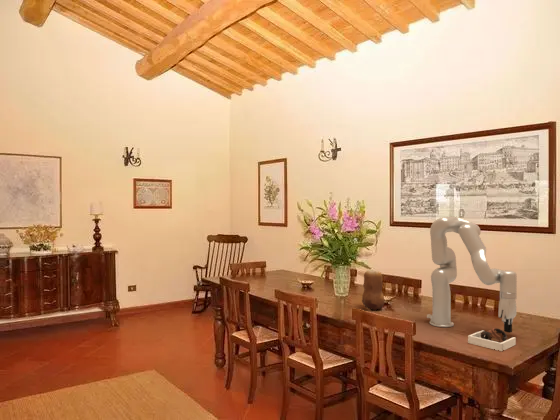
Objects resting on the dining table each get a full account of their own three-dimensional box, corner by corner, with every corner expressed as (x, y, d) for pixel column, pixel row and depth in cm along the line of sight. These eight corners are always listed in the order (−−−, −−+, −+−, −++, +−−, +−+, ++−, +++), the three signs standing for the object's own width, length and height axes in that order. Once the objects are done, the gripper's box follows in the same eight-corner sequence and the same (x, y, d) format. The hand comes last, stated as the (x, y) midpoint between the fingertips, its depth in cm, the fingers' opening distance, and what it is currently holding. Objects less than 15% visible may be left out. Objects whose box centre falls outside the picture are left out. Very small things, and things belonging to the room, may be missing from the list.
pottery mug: (494, 340, 222) (502, 327, 218) (503, 354, 213) (513, 341, 210) (473, 335, 219) (481, 322, 216) (482, 349, 211) (491, 336, 207)
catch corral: (468, 343, 215) (468, 335, 215) (482, 337, 225) (482, 330, 225) (501, 351, 203) (501, 343, 203) (515, 344, 212) (515, 337, 212)
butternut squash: (382, 307, 290) (382, 268, 290) (385, 312, 277) (385, 271, 276) (361, 306, 291) (361, 268, 291) (363, 311, 278) (363, 271, 278)
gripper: (507, 292, 232) (507, 327, 232) (493, 296, 223) (493, 332, 223) (522, 294, 226) (522, 330, 226) (508, 298, 217) (508, 336, 217)
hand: (508, 331), depth 225 cm, fingers closed
